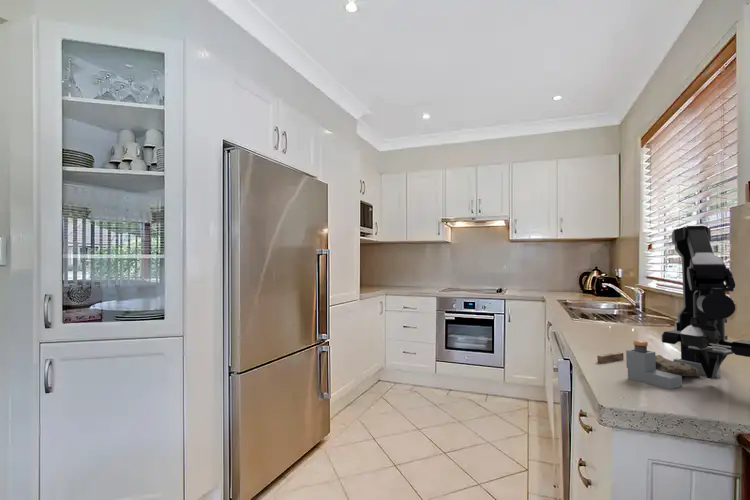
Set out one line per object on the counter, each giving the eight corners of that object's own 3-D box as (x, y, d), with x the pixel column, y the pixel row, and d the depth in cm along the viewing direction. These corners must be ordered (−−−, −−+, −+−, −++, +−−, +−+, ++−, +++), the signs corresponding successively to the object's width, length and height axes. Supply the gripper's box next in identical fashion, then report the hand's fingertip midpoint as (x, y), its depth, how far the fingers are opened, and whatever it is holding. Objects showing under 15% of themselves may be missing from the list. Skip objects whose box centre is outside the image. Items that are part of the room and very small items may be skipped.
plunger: (638, 362, 102) (637, 340, 102) (650, 365, 100) (650, 342, 100) (631, 363, 101) (630, 341, 101) (643, 366, 98) (643, 343, 98)
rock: (711, 382, 98) (711, 364, 98) (663, 382, 98) (662, 364, 98) (679, 369, 109) (678, 353, 109) (635, 369, 109) (635, 353, 109)
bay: (675, 367, 111) (675, 342, 111) (720, 377, 101) (719, 349, 102) (626, 377, 101) (626, 350, 101) (671, 389, 92) (670, 359, 92)
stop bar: (619, 358, 121) (618, 352, 121) (623, 359, 119) (623, 353, 119) (597, 362, 116) (597, 355, 116) (602, 363, 115) (601, 356, 115)
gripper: (648, 311, 101) (649, 372, 100) (741, 321, 84) (743, 395, 84) (673, 308, 106) (674, 367, 105) (765, 317, 89) (767, 387, 88)
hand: (710, 378), depth 95 cm, fingers closed
